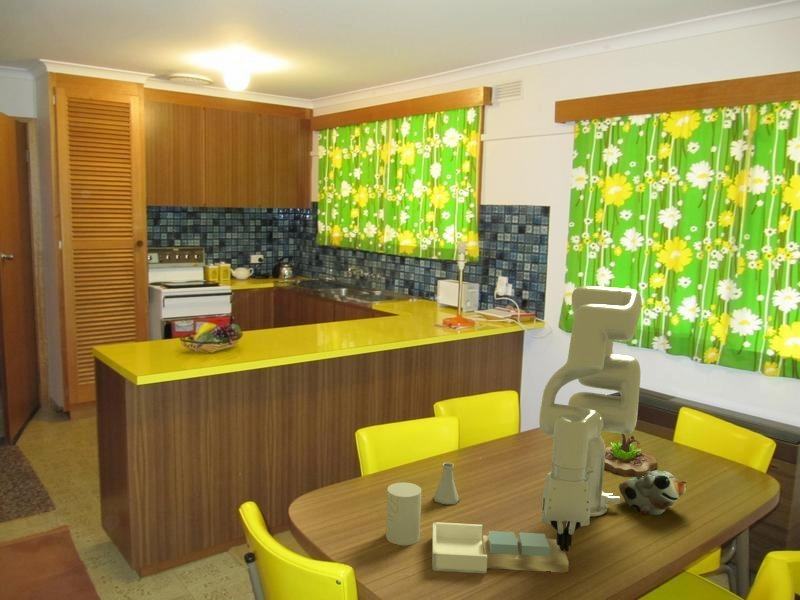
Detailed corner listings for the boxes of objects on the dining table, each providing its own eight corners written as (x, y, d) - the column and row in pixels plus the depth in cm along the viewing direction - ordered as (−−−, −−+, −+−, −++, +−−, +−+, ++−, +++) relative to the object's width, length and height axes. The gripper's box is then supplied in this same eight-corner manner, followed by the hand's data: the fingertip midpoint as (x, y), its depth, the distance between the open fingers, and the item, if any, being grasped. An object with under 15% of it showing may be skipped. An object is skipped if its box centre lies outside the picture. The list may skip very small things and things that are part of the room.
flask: (458, 507, 173) (459, 471, 172) (431, 503, 174) (432, 468, 173) (461, 495, 180) (462, 461, 179) (435, 492, 181) (436, 458, 180)
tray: (481, 540, 155) (482, 524, 155) (486, 573, 141) (487, 556, 140) (432, 537, 156) (432, 522, 155) (432, 570, 141) (433, 553, 141)
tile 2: (544, 542, 150) (544, 533, 150) (548, 556, 144) (549, 547, 144) (518, 541, 150) (518, 532, 150) (521, 554, 144) (522, 545, 144)
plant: (606, 448, 222) (608, 417, 220) (664, 464, 209) (666, 431, 208) (579, 464, 207) (582, 430, 205) (640, 482, 194) (643, 446, 193)
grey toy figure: (654, 494, 185) (682, 460, 179) (672, 528, 175) (702, 493, 168) (610, 482, 181) (637, 447, 175) (626, 516, 171) (655, 481, 165)
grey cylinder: (385, 528, 159) (386, 482, 158) (417, 528, 160) (419, 482, 159) (387, 545, 151) (388, 497, 150) (421, 545, 152) (423, 496, 151)
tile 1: (513, 541, 150) (514, 532, 150) (517, 554, 144) (517, 545, 144) (488, 539, 151) (488, 530, 150) (490, 553, 145) (490, 543, 144)
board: (559, 549, 152) (559, 539, 152) (567, 572, 142) (568, 562, 142) (482, 545, 153) (483, 535, 153) (485, 568, 143) (486, 557, 143)
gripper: (598, 466, 148) (592, 541, 150) (532, 462, 148) (527, 538, 151) (607, 479, 140) (600, 558, 143) (537, 475, 141) (532, 554, 143)
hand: (563, 547), depth 147 cm, fingers closed
